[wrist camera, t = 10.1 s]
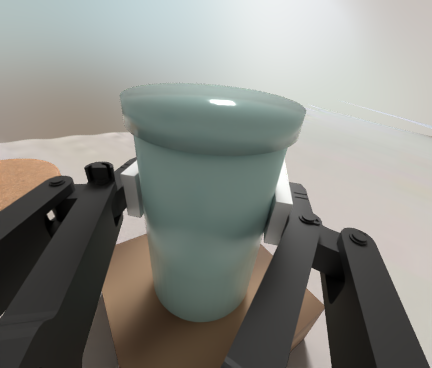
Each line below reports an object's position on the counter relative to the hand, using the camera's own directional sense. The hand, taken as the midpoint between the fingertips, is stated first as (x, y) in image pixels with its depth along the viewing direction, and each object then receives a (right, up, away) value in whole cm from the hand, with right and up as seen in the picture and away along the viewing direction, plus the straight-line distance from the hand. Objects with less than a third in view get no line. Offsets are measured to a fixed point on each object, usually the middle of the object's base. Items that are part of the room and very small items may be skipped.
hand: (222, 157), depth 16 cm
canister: (-2, -8, 0) cm, 9 cm away
